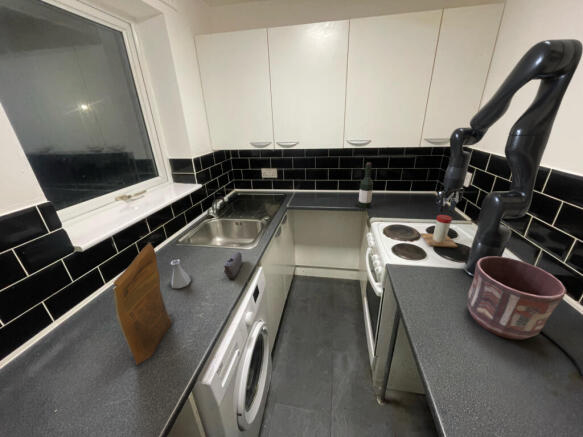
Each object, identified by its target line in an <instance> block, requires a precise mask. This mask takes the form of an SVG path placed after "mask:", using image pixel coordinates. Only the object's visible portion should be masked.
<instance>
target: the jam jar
mask: <svg viewBox="0 0 583 437" xmlns="http://www.w3.org/2000/svg"><path fill="white" fill-rule="evenodd" d="M450 227H451V223H442V222H439V221H437V220H436V221H435V225H434V228H433V233H432V234H433V240H435V241H437V242H445V241H446V237H447V235H448V234H449V230H450Z"/></svg>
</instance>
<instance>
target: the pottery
mask: <svg viewBox="0 0 583 437" xmlns="http://www.w3.org/2000/svg"><path fill="white" fill-rule="evenodd" d="M566 293H567V288H566V287H565V285H564V284H563V282H562V281H561V280H559V279H558V278H557V277H556V276H555V275H553V274H551V273H549V272H548V271H546V270H544V269H542V268H541V267H538V266H535V265H533V264H531V263H528V262H525V261H522V260H520V259H515V258H512V257H511V258H510V257H505V256H502V257H498V256H492V257H484V258H481V259H479V260H478V262H477V264H476V268H475V275H474V277H473V279H472V283H471V285H470V288H469V291H468V293H467V298H466V300H467V301H466V302H467V303H466V304H467V309H468V311H469V313H470V315H471V317H472V318H473V320H475V322H476V323H477V324H478V325H479V326H480V327H481V328H483V329H484V330H486V331H488V333H491V334H493V335H495V336H498V337H501V338H504V339H509V340H521V341H522V340H526V339H529V338H531V337H535V336H537V335H539V334H540V333H541V332H540V331H541V330H543V328H544V326H545V324H546V323H547V321H548V319H549V317H550V315H551V314H552V313H553V311H554V310H555V309H556V308H557V306H558V305H559V304H560V303H561V301H562V300H563V299H564V298H565V295H566Z"/></svg>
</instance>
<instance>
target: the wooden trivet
mask: <svg viewBox="0 0 583 437" xmlns="http://www.w3.org/2000/svg"><path fill="white" fill-rule="evenodd" d="M433 234H434V233H423V232H422V233H421V234H420V235H421V237H423V240H424V241H425V242H426V243H427V245H428V246H429V247H435V248H455V249H458V246H459V245H457V244H456V243H455V242H454V241H453V239H452V238H451V237H450V236H449V235H448V234H447V237H446V241H445V242H437V241H435V240H433Z"/></svg>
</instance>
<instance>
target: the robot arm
mask: <svg viewBox="0 0 583 437" xmlns="http://www.w3.org/2000/svg"><path fill="white" fill-rule="evenodd" d="M582 56H583V42H581V41H580V40H579V39H574V38H572V39H571V38H569V39H568V38H567V39H565V38H564V39H559V38H558V39H546V40H541V41H540V42H537V43H535V44H534V45H533V46H531V47H530V48H529V49H528V50H527V51H526V52H525V53H524V54H523V55H522V57H521V58H520V59H519V60H518V62H517V63H516V64H515V66H514V67H513V68H512V70H511V71H510V72H509V74H508V75H507V76H506V77H505V79H504V80H503V82H502V83H501V85H500V86H499V87H498V88H497V90H496V91H495V92H494V94H493V95H492V96H491V97H490V99H489V100H488V101H487V102H486V103H485V104H484V105H483V106H482V107H481V108H480V109H479V110H478V111H477V112H476V113H475V114H474V115H473V116H472V117H471V119H470V121H469V127H468V126H467V127H458V128H456V129H454V130H453V131H452V132H451V133H450V137H449V149H450V150H449V152H450V157H449V161H448V164H447V168H446V171H445V174H444V178H443V183H442V186H443V188H444V189H443V190H438V191H437V194H436V199H435V204H436V205H438V206H437V213H440V214H443V213H444V210H445V205H446V204H447V203H448V202H449V201H450V200H451V201H450V204H449V208H448V209H449V210H450V211H455V210H456V207H457V204H458V203H459V202H461V201H462V200H463V197H464V193H465V191H466V190H465V188H464V184H465V181H466V178H467V174H468V169H469V165H470V161H471V157H472V154H471V152H469V151H465V150H464V146H467V147H468V146H474V145H477V144H478V143H479V142H481V141H482V140H483V138H484V137H485V136H486V134H487V132H488V131H489V130H490V129H491V127H492V126H494V125H495V124H496V123H497V122H498V121H499V120H500V119H501V118H502V117H503V116H504V115H505V114H507V111H509V108H510V106H511V103H512V100H513V98H514V97H515V95H516V94H517V92H518V91H519V90H521V89H522V88H523V87H524V86H525V85H527V84H528V83H529V82H531V81H539V80H540V81H539V86H538V88H537V91H536V93H535V97H534V98H533V100H532V102H531V103H530V105H529V106H528V107H527V108H526V109H525V111H524V112H523V113H521V115H520V116H519V117H518V118H517V119H516V121H515V122H513V125H512V126H511V128H510V130H509V132H508V136H507V139H506V143H505V146H504V156H505V160H506V162H507V164H508V166H509V169H510V172H511V182H510V186H509V190H506V191H502V190H501V191H500V190H499V191H498V190H497V191H491V192H488V193H487V194H486V195H485V196H484V198H483V200H482V203H481V206H480V210H479V214H478V218H477V229H476V232H475V235H474V238H473V241H472V243H471V246H470V250H469V253H468V256H467V259H466V262H465V264H464V267H463V271H464V272H465V273H466V274H467V275H468V276H470V277H473V278H474V275H475V268H476V264H477V262H478V260H479V259H481V258H484V257H492V256H498V257H503V255H504V253H505V250H506V248H507V245H508V243H509V240H510V238H511V236H512V230H511V228H509V227H507V226H506V225H504V224H501V223H502V219H519V218H522V217H524V216H525V215H526V214H527V212H528V211H529V209H530V206H531V203H532V199H533V194H534V188H535V186H536V185H535V184H536V180H537V176H538V172H539V169H540V166H541V162H542V159H543V156H544V154H545V150H546V149H547V146H548V143H549V140H550V137H551V134H552V130H553V126H554V124H555V121H556V118H557V115H558V112H559V110H560V108H561V105H562V102H563V99H564V96H565V94H566V92H567V90H568V88H569V86H570V84H571V81H572V79H573V77H574V75H575V74H576V71H577V69H578V67H579V64H580V63H581V62H580V61H581V60H582ZM540 333H542V334H543V335H544V336H545V337H547V338H548V339H549V340H550V341H552V342H553V343H554V344H555V345H557V346H558V347H559V348H560V350H562V351H563V352H564V353H565V354H566V355H567V356H568V357H569V358H570V359H571V360H572V361H573V362H574V363H575V365H577V367H578V369H579V371H580V374H581V377H582V378H583V365H582V363H581V362H580V361H579V360H578V359H577V357H575V356H574V355H573V354H572V353H571V352H570V351H569V349H568V348H566V347H565V346H563V344H561V343H560V342H559V341H558V340H557V339H555V338H554V337H553V336H551V335H550V334H549V333H547V332H546V331H545V330H543V329H542V330H541V331H540Z"/></svg>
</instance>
